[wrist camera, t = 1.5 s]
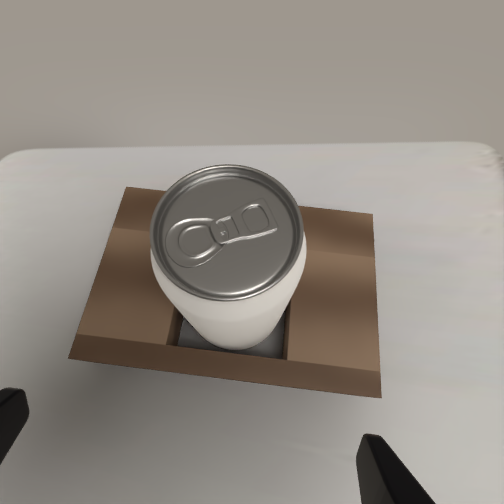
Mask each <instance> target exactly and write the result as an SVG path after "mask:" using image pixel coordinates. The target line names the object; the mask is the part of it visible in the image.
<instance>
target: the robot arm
mask: <svg viewBox="0 0 504 504" xmlns="http://www.w3.org/2000/svg"><path fill="white" fill-rule="evenodd" d="M28 416H29V407H28V403H27V399H26V394H25V391H24V390H23V389H18V388H4V389H2V390H0V464H1V463H2V461H3V459H4V458H5V456H6V455H7V453H8V451H9V450H10V448H11V446H12V445H13V443H14V441H15V440H16V438H17V436H18V435H19V433H20V431H21V430H22V428H23V426H24V425H25V423H26V421H27V419H28ZM356 466H357V473H358V480H359V488H360V495H361V502H362V504H436V503H435V502H434V501H433V500H432V499H431V497H430V496H429V495H428V494H427V492H426V491H425V490H424V489H423V487H422V486H421V485H420V484H419V482H418V481H417V480H416V479H415V477H414V476H413V475H412V474H411V472H410V471H409V470H408V469H407V467H406V466H405V465H404V464H403V463H402V461H401V460H400V459H399V458H398V456H397V455H396V454H395V453H394V451H393V450H392V449H391V448H390V446H389V445H388V444H387V443H386V441H385V440H384V439H383V438H382V437H381V436H379V435H374V434H364V435H363V437H362V440H361V443H360V446H359V449H358V452H357V456H356Z"/></svg>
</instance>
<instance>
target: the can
mask: <svg viewBox="0 0 504 504" xmlns="http://www.w3.org/2000/svg"><path fill="white" fill-rule="evenodd" d="M150 245H151V263H152V267H153V271H154V274H155V277H156V279H157V281H158V283H159V285H160V287H161V289H162V290H163V292H164V293H165V294H166V296H167V297H168V298H169V300H170V301H171V302H172V303H173V304H174V306H175V307H176V308H177V309H178V310H179V311H180V313H181V314H182V315H183V316H184V317H185V318H186V319H187V320H188V322H189V323H190V324H191V325H192V326H193V327H194V328H195V329H196V330H197V331H198V333H199V334H200V335H201V336H202V337H203V338H204V339H206V340H207V341H208V342H210V343H211V344H213V345H215V346H217V347H219V348H223V349H227V350H243V349H247V348H251V347H253V346H255V345H257V344H259V343H260V342H262V341H263V340H265V339H266V338H267V337H268V336H269V335H270V334H271V332H272V331H273V330H274V328H275V327H276V325H277V323H278V321H279V320H280V318H281V316H282V314H283V312H284V310H285V308H286V306H287V305H288V303H289V301H290V299H291V297H292V295H293V293H294V291H295V289H296V287H297V285H298V283H299V280H300V278H301V275H302V273H303V269H304V265H305V260H306V238H305V233H304V227H303V220H302V215H301V212H300V209H299V207H298V205H297V203H296V201H295V199H294V198H293V196H292V195H291V193H290V192H289V191H288V190H287V189H286V188H285V187H284V186H283V185H282V184H281V183H280V182H279V181H277V180H276V179H275V178H273V177H272V176H270V175H268V174H266V173H264V172H262V171H260V170H257V169H254V168H251V167H247V166H241V165H215V166H210V167H206V168H202V169H199V170H197V171H194V172H192V173H190V174H188V175H186V176H184V177H183V178H181V179H180V180H178V181H177V182H176V183H174V184H173V185H172V186H171V187H170V188H169V189H168V190H167V191H166V192H165V194H164V195H163V196H162V198H161V199H160V201H159V202H158V204H157V206H156V208H155V210H154V213H153V216H152V219H151V224H150Z"/></svg>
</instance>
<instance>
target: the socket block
mask: <svg viewBox="0 0 504 504" xmlns="http://www.w3.org/2000/svg"><path fill="white" fill-rule="evenodd" d="M165 192H166V191H160V190H151V189H142V188H133V187H126V189H125V192H124V195H123V198H122V201H121V204H120V207H119V209H118V212H117V215H116V218H115V221H114V224H113V227H112V230H111V233H110V236H109V239H108V242H107V245H106V248H105V251H104V254H103V257H102V259H101V262H100V265H99V268H98V271H97V274H96V277H95V280H94V283H93V286H92V289H91V292H90V295H89V298H88V301H87V304H86V307H85V309H84V312H83V315H82V318H81V321H80V324H79V327H78V330H77V333H76V336H75V339H74V342H73V345H72V348H71V351H70V354H69V357H68V359H75V360H82V361H89V362H96V363H104V364H112V365H119V366H127V367H135V368H143V369H151V370H159V371H167V372H175V373H182V374H190V375H198V376H206V377H214V378H222V379H230V380H238V381H245V382H253V383H261V384H269V385H277V386H285V387H293V388H301V389H308V390H316V391H324V392H332V393H340V394H348V395H356V396H364V397H374V398H382V396H381V376H380V355H379V334H378V314H377V293H376V273H375V252H374V232H373V214H367V213H358V212H349V211H340V210H331V209H322V208H313V207H304V206H298V207H299V209H300V212H301V215H302V220H303V227H304V233H305V238H306V260H305V265H304V269H303V273H302V275H301V278H300V280H299V283H298V285H297V287H296V289H295V291H294V293H293V295H292V297H291V299H290V301H289V303H288V305H287V306H286V311H285V325H284V338H283V352H282V359H275V358H267V357H259V356H251V355H243V354H235V353H227V352H219V351H211V350H203V349H195V348H187V347H179V346H177V344H178V339H179V335H180V330H181V325H182V320H183V315H182V314H181V313H180V311H179V310H178V309H177V308H176V307H175V306H174V304H173V303H172V302H171V301H170V300H169V298H168V297H167V296H166V294H165V293H164V292H163V290H162V289H161V287H160V285H159V283H158V281H157V279H156V277H155V274H154V271H153V267H152V263H151V245H150V224H151V219H152V216H153V213H154V210H155V208H156V206H157V204H158V202H159V201H160V199H161V198H162V196H163V195H164V194H165Z"/></svg>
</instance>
